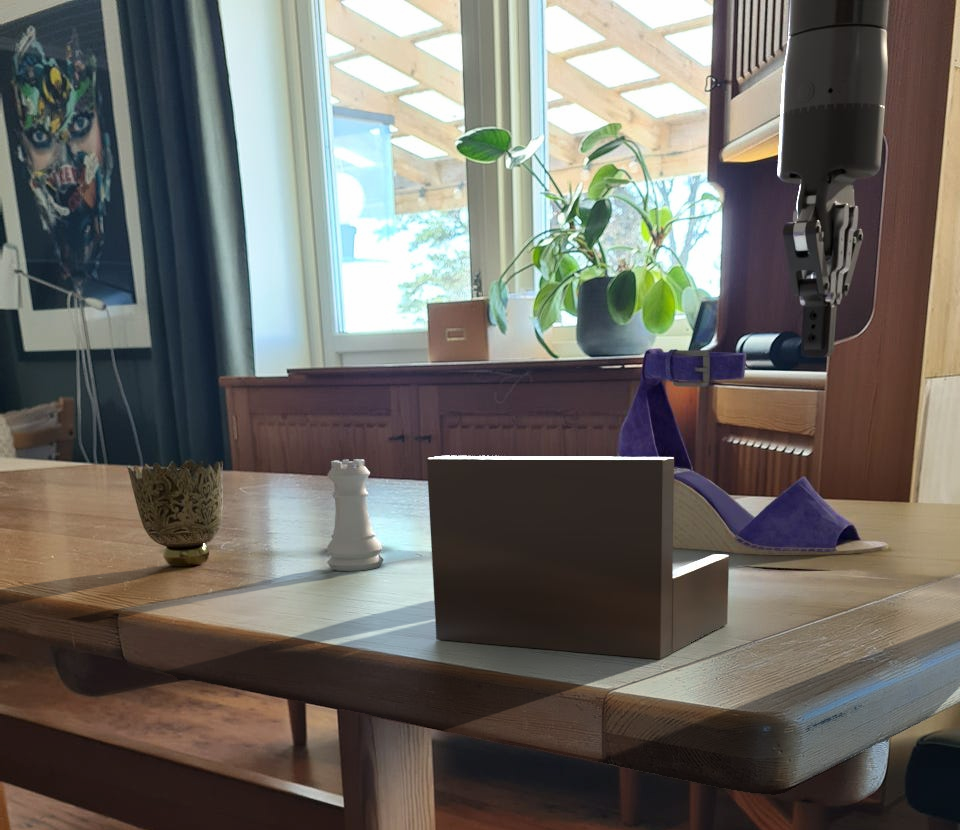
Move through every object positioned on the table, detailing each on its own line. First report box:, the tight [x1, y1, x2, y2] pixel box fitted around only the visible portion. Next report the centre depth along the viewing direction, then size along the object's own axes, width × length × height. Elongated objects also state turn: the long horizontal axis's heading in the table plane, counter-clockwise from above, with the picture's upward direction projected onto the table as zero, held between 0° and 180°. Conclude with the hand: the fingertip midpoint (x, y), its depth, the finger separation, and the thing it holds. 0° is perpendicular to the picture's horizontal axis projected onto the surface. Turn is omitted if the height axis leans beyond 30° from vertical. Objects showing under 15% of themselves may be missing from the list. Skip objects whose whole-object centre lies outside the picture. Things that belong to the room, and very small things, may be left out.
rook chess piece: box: [326, 458, 385, 572], centre depth 99 cm, size 4×4×8 cm
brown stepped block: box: [426, 455, 730, 660], centre depth 72 cm, size 10×14×10 cm
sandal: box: [616, 348, 889, 572], centre depth 92 cm, size 8×20×15 cm, turn 57°
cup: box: [126, 458, 224, 567], centre depth 104 cm, size 8×7×8 cm
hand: (817, 356), depth 102 cm, fingers closed
